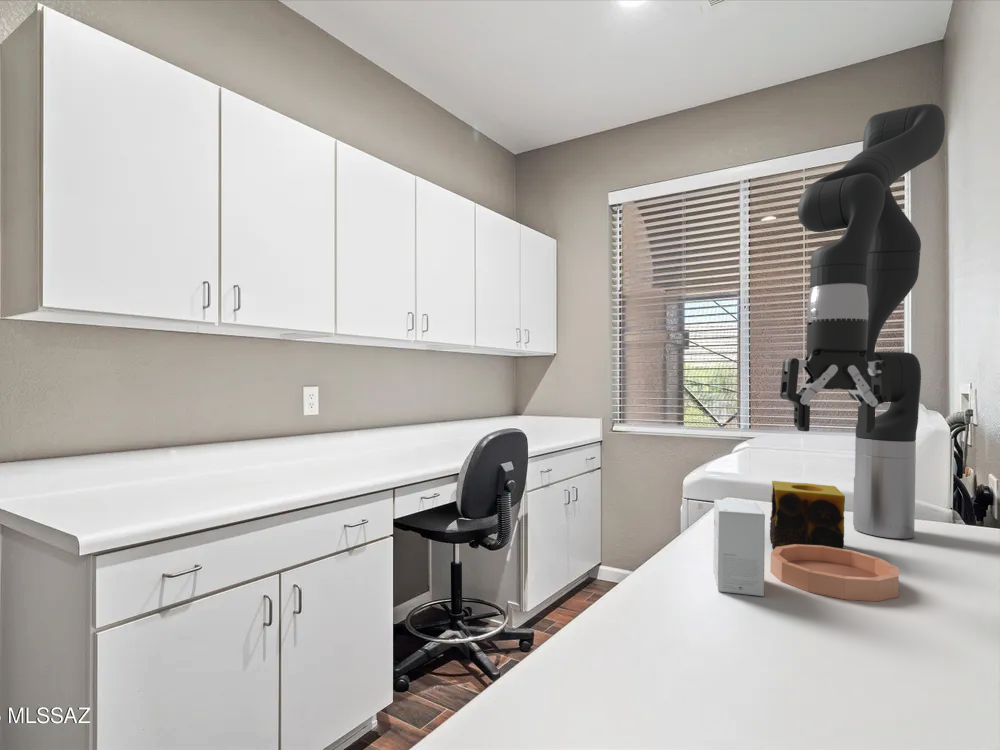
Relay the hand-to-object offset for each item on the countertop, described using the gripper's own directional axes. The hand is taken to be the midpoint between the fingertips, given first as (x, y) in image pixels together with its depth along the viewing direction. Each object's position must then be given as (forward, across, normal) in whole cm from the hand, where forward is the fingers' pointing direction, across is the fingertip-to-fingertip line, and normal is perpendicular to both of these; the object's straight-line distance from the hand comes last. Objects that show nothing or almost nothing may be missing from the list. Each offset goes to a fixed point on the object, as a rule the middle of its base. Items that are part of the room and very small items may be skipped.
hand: (833, 431), depth 81 cm
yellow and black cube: (+21, -3, -13) cm, 25 cm away
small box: (+20, +15, +6) cm, 26 cm away
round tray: (+20, +1, +3) cm, 20 cm away
